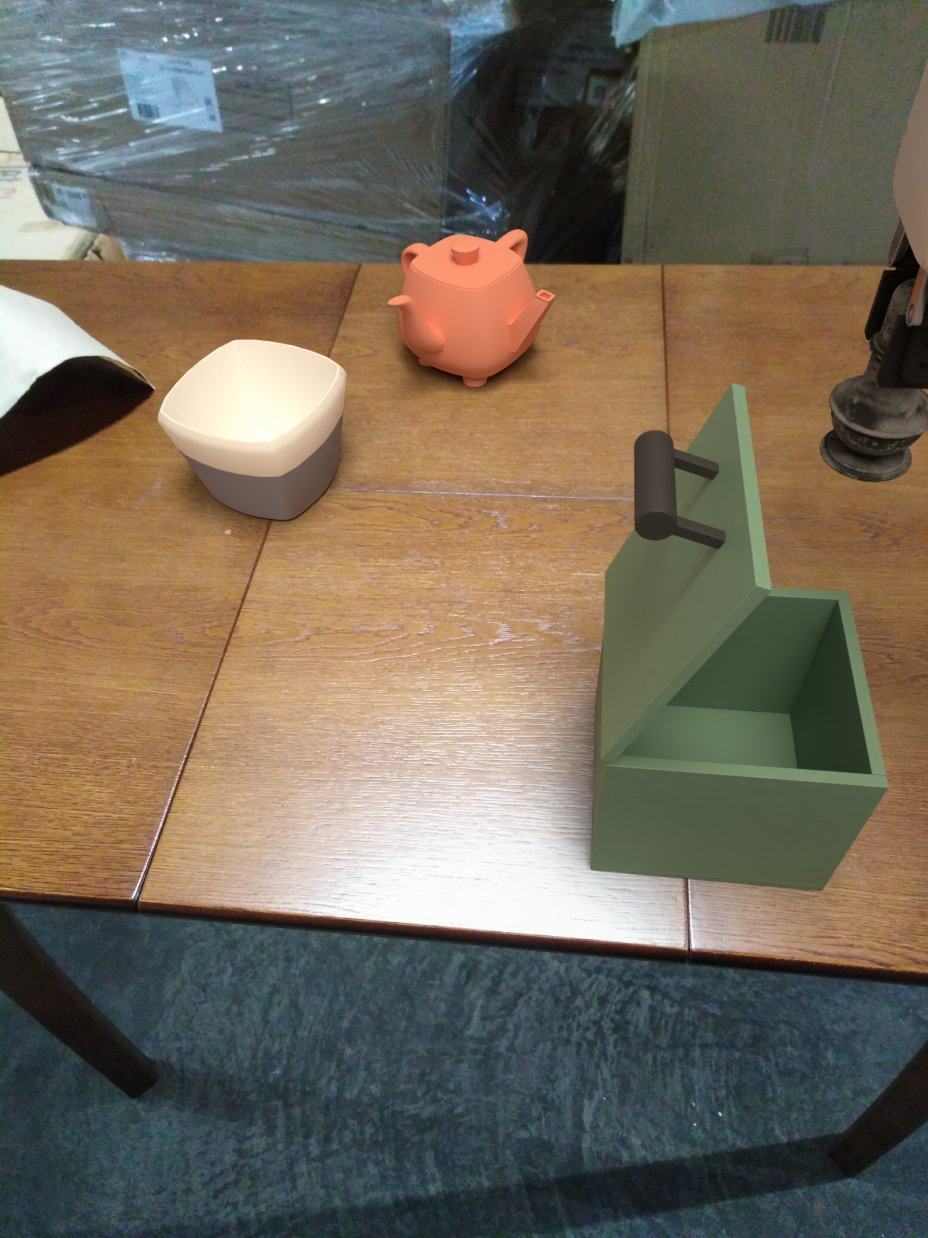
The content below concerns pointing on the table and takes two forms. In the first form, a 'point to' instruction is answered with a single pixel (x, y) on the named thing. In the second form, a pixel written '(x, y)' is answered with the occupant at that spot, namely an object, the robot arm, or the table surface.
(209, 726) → the table surface
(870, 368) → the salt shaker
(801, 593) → the chest
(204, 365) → the bowl
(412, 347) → the teapot
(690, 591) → the lid
